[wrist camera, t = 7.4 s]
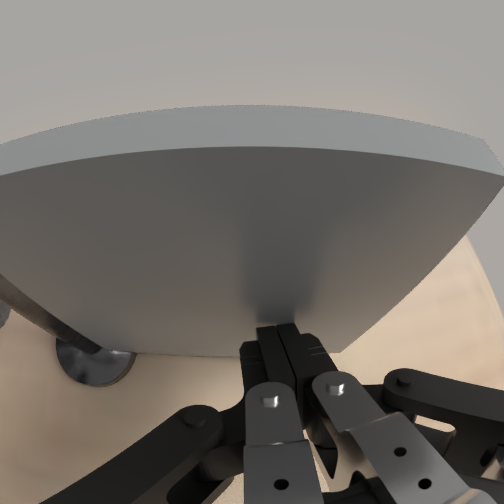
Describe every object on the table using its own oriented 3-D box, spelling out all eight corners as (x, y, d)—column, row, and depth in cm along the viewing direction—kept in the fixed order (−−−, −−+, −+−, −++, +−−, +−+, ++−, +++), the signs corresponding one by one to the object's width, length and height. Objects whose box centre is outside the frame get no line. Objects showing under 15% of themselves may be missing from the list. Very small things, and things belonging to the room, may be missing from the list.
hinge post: (57, 376, 16) (-159, 234, 1) (73, 299, 19) (-80, 107, 4) (131, 395, 16) (-147, 234, 1) (144, 307, 19) (-6, 52, 4)
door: (105, 349, 16) (-73, 198, 4) (110, 312, 17) (-34, 138, 5) (340, 352, 16) (509, 177, 4) (336, 314, 17) (460, 110, 5)
